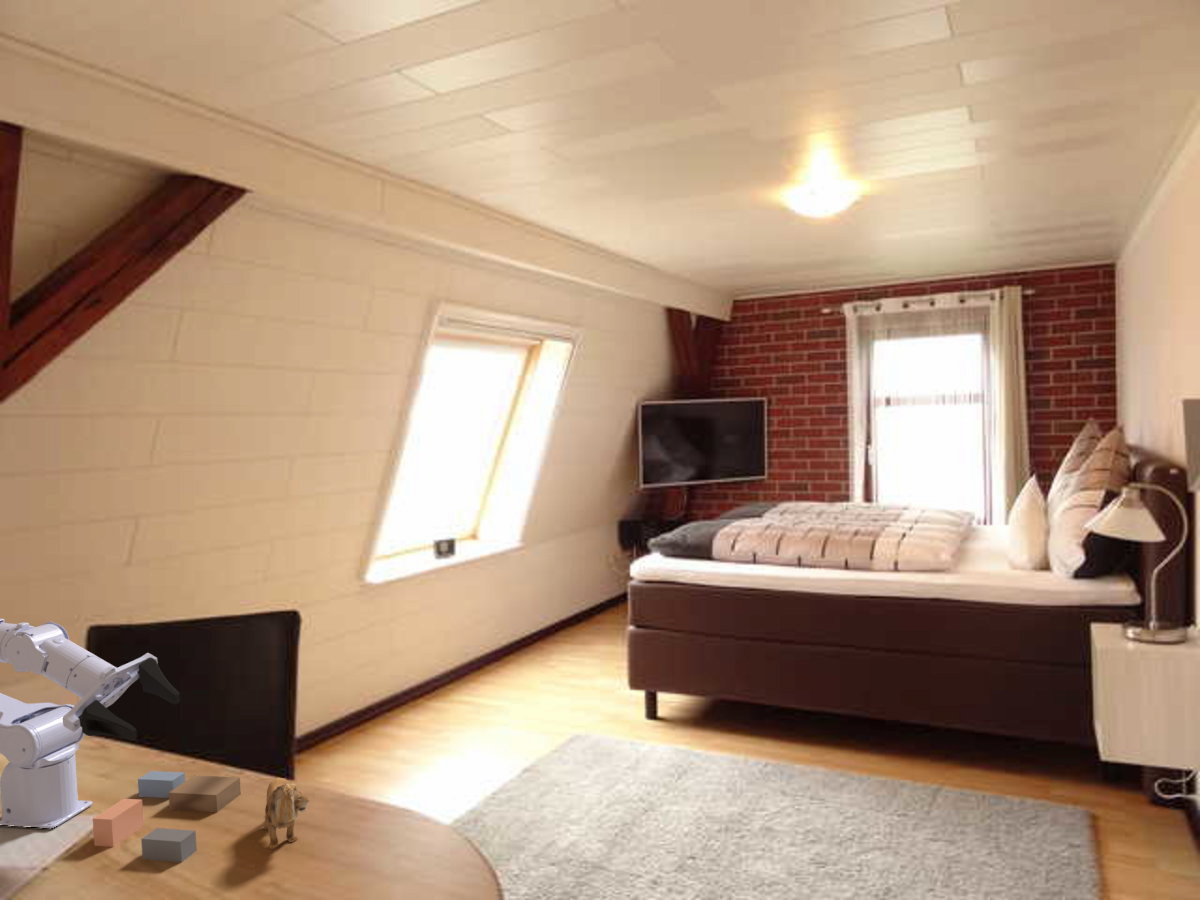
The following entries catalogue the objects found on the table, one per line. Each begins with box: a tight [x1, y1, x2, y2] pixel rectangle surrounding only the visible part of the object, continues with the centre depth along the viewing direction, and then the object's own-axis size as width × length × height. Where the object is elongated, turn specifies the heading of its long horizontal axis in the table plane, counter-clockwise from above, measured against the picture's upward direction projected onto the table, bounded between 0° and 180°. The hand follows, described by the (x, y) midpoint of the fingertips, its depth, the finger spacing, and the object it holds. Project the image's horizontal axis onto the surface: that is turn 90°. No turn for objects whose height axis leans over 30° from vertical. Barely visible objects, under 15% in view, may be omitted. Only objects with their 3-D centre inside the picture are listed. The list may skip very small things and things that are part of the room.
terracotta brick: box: [92, 798, 145, 848], centre depth 121 cm, size 3×6×4 cm, turn 170°
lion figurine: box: [263, 777, 311, 850], centre depth 120 cm, size 15×5×9 cm, turn 33°
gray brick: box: [140, 827, 198, 863], centre depth 115 cm, size 6×3×3 cm, turn 79°
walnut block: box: [168, 774, 242, 813], centre depth 131 cm, size 8×6×3 cm
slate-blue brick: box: [137, 770, 186, 799], centre depth 134 cm, size 6×3×3 cm, turn 81°
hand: (156, 716), depth 121 cm, fingers open, 7 cm apart
